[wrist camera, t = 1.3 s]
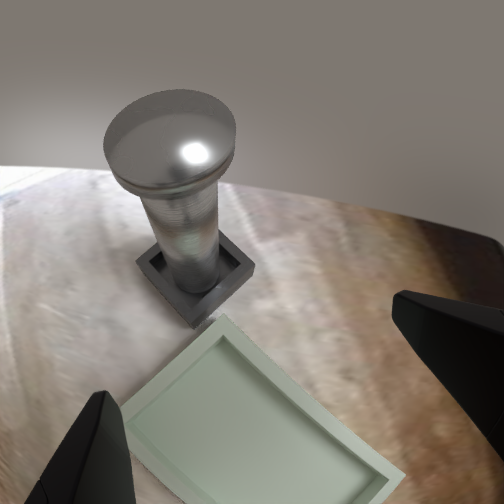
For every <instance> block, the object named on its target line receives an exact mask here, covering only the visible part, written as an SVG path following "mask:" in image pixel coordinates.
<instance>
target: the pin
mask: <svg viewBox="0 0 504 504" xmlns="http://www.w3.org/2000/svg"><path fill="white" fill-rule="evenodd" d="M235 136H236V124H235V119H234V117H233V115H232V113H231V111H230V110H229V108H228V107H227V106H226V105H225V104H224V103H222V102H221V101H220V100H219V99H216V98H215V97H213V96H211V95H209V94H206V93H202V92H199V91H194V90H185V89H179V90H178V89H176V90H167V91H161V92H157V93H153V94H150V95H147V96H145V97H142V98H140V99H138V100H136V101H134V102H133V103H131V104H130V105H128V106H127V107H125V108H124V109H123V110H122V111H121V112H120V113H119V114H118V115H116V117H115V118H114V119H113V120H112V122H111V123H110V125H109V127H108V129H107V131H106V134H105V137H104V143H103V145H104V146H103V147H104V153H105V157H106V159H107V162H108V164H109V166H110V169H111V171H112V173H113V175H114V177H115V179H116V181H117V182H118V183H119V184H120V185H121V186H122V187H123V188H124V189H125V190H127V191H128V192H130V193H132V194H134V195H136V196H139V197H140V199H141V202H142V204H143V207H144V209H145V212H146V214H147V217H148V219H149V222H150V224H151V227H152V229H153V232H154V234H155V237H156V239H157V242H158V244H159V246H160V249H161V251H162V253H163V256H164V258H165V260H166V263H167V265H168V267H169V270H170V272H171V274H172V276H173V279H174V281H175V283H176V284H177V285H178V286H179V287H180V288H181V289H182V290H184V291H186V292H189V293H201V292H204V291H207V290H208V289H210V288H211V287H212V286H213V285H214V284H215V283H216V281H217V279H218V277H219V271H220V270H219V236H218V179H219V178H220V177H221V176H222V175H223V174H224V173H225V172H226V170H227V169H228V167H229V165H230V164H231V162H232V159H233V156H234V149H235Z"/></svg>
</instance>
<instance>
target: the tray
mask: <svg viewBox="0 0 504 504" xmlns="http://www.w3.org/2000/svg"><path fill="white" fill-rule="evenodd" d="M120 410H121V413H122V417H123V423H124V429H125V434H126V439H127V444H128V449H129V450H130V451H131V452H132V453H133V454H134V455H135V457H136V458H137V459H138V460H139V461H140V462H141V463H142V464H143V465H144V466H145V467H146V468H147V469H148V470H149V471H150V472H151V473H153V474H154V475H155V476H156V477H157V478H158V479H159V480H160V481H161V482H162V483H163V484H164V485H165V486H166V487H168V488H169V489H170V490H171V491H172V492H173V493H174V494H175V495H177V496H178V497H179V498H180V499H181V500H182V501H184V502H185V503H186V504H382V503H383V501H384V500H385V499H386V498H387V497H388V496H389V495H390V494H391V492H392V491H393V490H394V489H395V488H396V487H397V485H398V484H399V483H400V482H401V481H402V479H403V478H404V477H405V476H406V475H405V474H404V473H403V472H402V471H400V470H399V469H398V468H396V467H395V466H394V465H393V464H391V463H390V462H389V461H388V460H386V459H385V458H384V457H383V456H381V455H380V454H379V453H378V452H376V451H375V450H374V449H373V448H371V447H370V446H369V445H368V444H366V443H365V442H364V441H363V440H362V439H360V438H359V437H358V436H357V435H356V434H354V433H353V432H352V431H351V430H350V429H348V428H347V427H346V426H345V425H344V424H343V423H341V422H340V421H339V420H338V419H337V418H336V417H334V416H333V415H332V414H331V413H330V412H329V411H328V410H326V409H325V408H324V407H323V406H322V405H321V404H320V403H318V402H317V401H316V400H315V399H314V398H313V397H312V396H311V395H309V394H308V393H307V392H306V391H305V390H304V389H303V388H302V387H301V386H299V385H298V384H297V383H296V382H295V381H294V380H293V379H292V378H291V377H290V376H288V375H287V374H286V373H285V372H284V371H283V370H282V369H281V368H280V367H279V366H278V365H277V364H276V363H275V362H273V361H272V360H271V359H270V358H269V357H268V356H267V355H266V354H265V353H264V352H263V351H262V350H261V349H260V348H259V347H258V346H257V345H256V344H255V343H253V342H252V341H251V340H250V339H249V338H248V337H247V336H246V335H245V334H244V333H243V332H242V331H241V330H240V329H239V328H238V327H237V326H236V325H235V324H234V323H233V322H232V321H231V320H230V319H229V318H228V317H227V316H226V315H225V314H224V313H223V314H222V315H221V316H220V317H219V318H218V319H217V320H216V321H215V322H214V323H213V324H211V325H210V326H209V327H208V328H207V329H206V330H205V331H204V332H203V333H202V334H201V335H200V336H199V337H197V338H196V339H195V340H194V341H193V342H192V343H191V344H190V345H189V346H188V347H187V348H185V349H184V350H183V351H182V352H181V353H180V354H179V355H178V356H177V357H176V358H174V359H173V360H172V361H171V362H170V363H169V364H168V365H167V366H166V367H165V368H163V369H162V370H161V371H160V372H159V373H158V374H157V375H156V376H155V377H153V378H152V379H151V380H150V381H149V382H148V383H147V384H146V385H145V386H143V387H142V388H141V389H140V390H139V391H138V392H137V393H136V394H134V395H133V396H132V397H131V398H130V399H129V400H128V401H126V402H125V403H124V404H123V405H122V406H121V407H120Z"/></svg>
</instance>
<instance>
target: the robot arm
mask: <svg viewBox="0 0 504 504" xmlns="http://www.w3.org/2000/svg"><path fill="white" fill-rule="evenodd" d="M392 319H393V321H394V323H395V324H396V326H397V327H398V329H399V330H400V331H401V333H402V334H403V336H404V337H405V338H406V340H407V341H408V343H409V344H410V346H411V347H412V348H413V350H414V351H415V353H416V354H417V355H418V356H419V358H420V359H421V360H422V361H423V362H424V363H425V365H426V366H427V367H428V368H429V369H430V370H431V372H432V373H433V374H434V375H435V376H436V377H437V379H438V380H439V381H440V382H441V383H442V385H443V386H444V387H445V388H446V389H447V391H448V392H449V393H450V394H451V395H452V397H453V398H454V399H455V400H456V401H457V403H458V404H459V405H460V406H461V408H462V409H463V410H464V411H465V412H466V414H467V415H468V416H469V417H470V419H471V420H472V421H473V422H474V424H475V425H476V426H477V428H478V429H479V430H480V431H481V433H482V434H483V435H484V436H485V438H486V439H487V441H488V442H489V443H490V444H491V446H492V447H493V448H494V450H495V451H496V452H497V454H498V455H499V456H500V458H501V459H502V460H503V462H504V310H501V309H500V310H499V309H496V308H491V307H486V306H481V305H476V304H471V303H466V302H462V301H457V300H452V299H447V298H442V297H437V296H432V295H427V294H423V293H418V292H413V291H408V290H403V291H400V292H398V293H396V294H395V295H394V297H393V304H392ZM24 504H136V499H135V491H134V484H133V475H132V466H131V459H130V454H129V449H128V444H127V439H126V434H125V429H124V423H123V417H122V413H121V410H120V408H119V407H118V405H117V404H116V402H115V401H114V399H113V398H112V396H111V395H110V393H109V392H108V391H106V390H103V391H98V392H94V393H93V394H92V396H91V397H90V399H89V400H88V402H87V403H86V405H85V406H84V408H83V409H82V411H81V412H80V414H79V415H78V417H77V418H76V420H75V422H74V423H73V425H72V426H71V428H70V429H69V431H68V432H67V434H66V436H65V437H64V439H63V440H62V442H61V444H60V445H59V447H58V448H57V450H56V452H55V453H54V455H53V457H52V458H51V460H50V461H49V463H48V465H47V466H46V468H45V470H44V471H43V473H42V475H41V476H40V480H38V481H37V483H36V485H35V486H34V488H33V490H32V491H31V493H30V495H29V496H28V498H27V500H26V501H25V503H24Z"/></svg>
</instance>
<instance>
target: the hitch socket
mask: <svg viewBox="0 0 504 504" xmlns="http://www.w3.org/2000/svg"><path fill="white" fill-rule="evenodd" d="M218 236H219V270H220V271H219V277H218V279H217V281H216V283H215V284H214V285H213V286H212V287H211V288H210V289H208V290H207V291H204V292H201V293H189V292H186V291H184V290H182V289H181V288H180V287H179V286H178V285H177V284H176V283H175V281H174V279H173V276H172V274H171V272H170V270H169V267H168V265H167V263H166V260H165V258H164V256H163V253H162V251H161V249H160V246H159V244H158V242H157V243H156V244H155V245H154V246H152V247H151V248H150V249H149V250H148V251H146V252H145V253H144V254H143V255H142V256H140V257H139V258H138V259H137V260H136V263H137V264H138V266H139V267H140V269H141V271H142V272H143V273H144V274H145V276H146V277H147V278H148V279H149V280H150V281H151V283H152V284H153V285H154V286H155V287H156V288H157V289H158V291H159V292H160V293H161V294H162V295H163V296H164V297H165V298H166V300H167V301H168V302H169V303H170V304H171V305H172V306H173V307H174V308H175V309H176V311H177V312H178V313H179V314H180V315H181V316H182V317H183V318H184V319H185V320H186V321H187V322H188V324H189V325H190V326H191V327H192V328H193V329H195V328H196V327H197V326H199V325H200V324H201V323H202V322H203V321H204V320H205V319H206V318H207V317H208V316H209V315H210V314H212V313H213V312H214V311H215V310H216V309H217V308H218V307H219V306H220V305H221V304H222V303H223V302H225V301H226V300H227V299H228V298H229V297H230V296H231V295H232V294H233V293H234V292H235V291H236V290H237V289H239V288H240V287H241V286H242V285H243V284H244V283H245V282H246V281H247V280H248V279H249V278H250V277H251V276H252V275H253V272H254V268H255V263H254V262H253V261H252V260H251V259H249V258H248V257H247V256H246V255H245V254H244V253H243V252H242V251H241V250H240V249H239V248H238V247H237V246H236V245H235V244H234V243H233V242H231V241H230V240H229V239H228V238H227V237H226V236H225V235H224V234H223V233H222V232H221V231H220V230H219V229H218Z"/></svg>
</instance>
